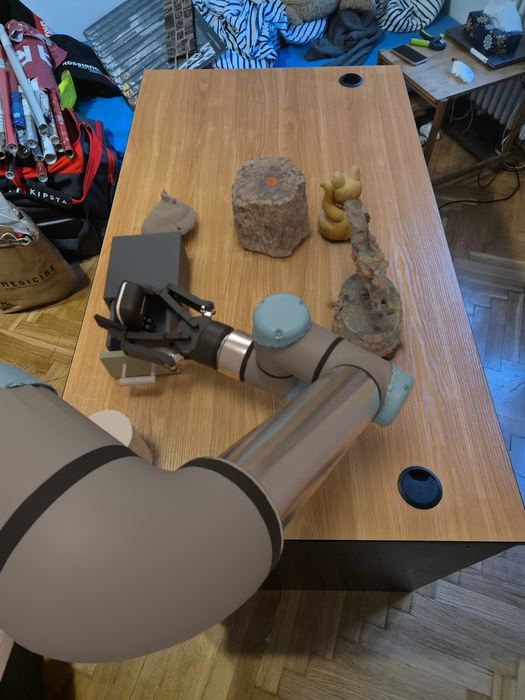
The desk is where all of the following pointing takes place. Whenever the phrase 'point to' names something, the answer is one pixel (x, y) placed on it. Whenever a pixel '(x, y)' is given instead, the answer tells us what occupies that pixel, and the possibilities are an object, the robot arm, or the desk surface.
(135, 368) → the drawer
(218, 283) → the desk surface
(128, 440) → the cup
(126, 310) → the battery charger
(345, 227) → the decorative figurine
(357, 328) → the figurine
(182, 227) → the grey clay mound
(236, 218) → the petrified wood
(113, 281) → the cabinet
